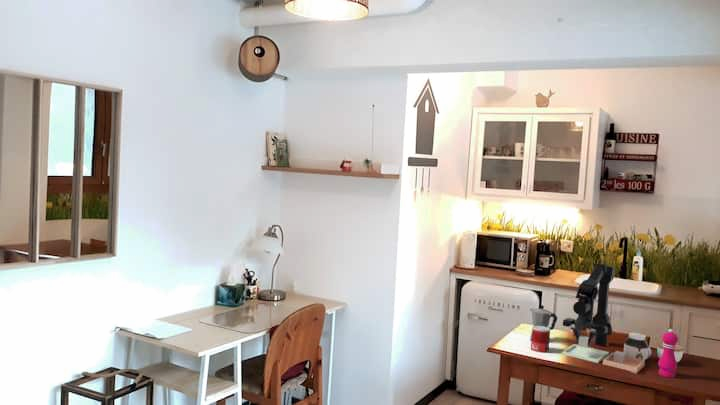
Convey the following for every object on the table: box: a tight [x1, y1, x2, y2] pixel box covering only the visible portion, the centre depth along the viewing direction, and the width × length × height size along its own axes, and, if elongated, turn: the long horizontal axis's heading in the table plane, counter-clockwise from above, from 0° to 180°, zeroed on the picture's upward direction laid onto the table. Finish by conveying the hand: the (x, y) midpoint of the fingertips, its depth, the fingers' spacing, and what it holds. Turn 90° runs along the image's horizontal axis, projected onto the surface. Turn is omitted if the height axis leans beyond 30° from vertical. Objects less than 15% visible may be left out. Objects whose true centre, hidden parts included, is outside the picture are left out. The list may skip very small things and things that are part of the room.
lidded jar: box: [656, 341, 685, 363], centre depth 273 cm, size 11×11×9 cm
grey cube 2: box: [577, 334, 589, 348], centre depth 272 cm, size 4×4×4 cm
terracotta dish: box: [602, 352, 646, 375], centre depth 265 cm, size 14×14×2 cm
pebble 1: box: [613, 350, 626, 364], centre depth 268 cm, size 4×4×4 cm
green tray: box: [561, 344, 610, 364], centre depth 276 cm, size 16×16×2 cm
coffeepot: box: [529, 305, 558, 341], centre depth 294 cm, size 15×9×18 cm, turn 37°
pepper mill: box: [657, 328, 679, 378], centre depth 255 cm, size 7×7×20 cm
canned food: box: [530, 325, 551, 353], centre depth 279 cm, size 8×8×11 cm
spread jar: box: [623, 332, 652, 361], centre depth 275 cm, size 12×11×12 cm
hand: (583, 344), depth 272 cm, fingers closed on grey cube 2, 4 cm apart
